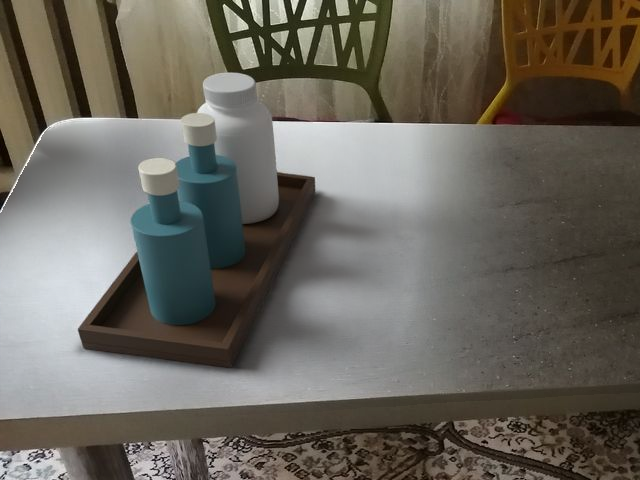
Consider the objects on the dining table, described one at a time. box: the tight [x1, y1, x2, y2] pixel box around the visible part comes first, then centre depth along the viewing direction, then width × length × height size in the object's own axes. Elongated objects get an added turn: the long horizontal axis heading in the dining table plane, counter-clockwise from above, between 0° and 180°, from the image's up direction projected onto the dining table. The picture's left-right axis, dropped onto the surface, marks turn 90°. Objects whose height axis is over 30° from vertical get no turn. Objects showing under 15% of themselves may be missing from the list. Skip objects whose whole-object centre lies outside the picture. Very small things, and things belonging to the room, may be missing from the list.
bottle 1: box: [130, 157, 216, 325], centre depth 68 cm, size 6×6×15 cm
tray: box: [77, 171, 316, 369], centre depth 79 cm, size 33×14×2 cm, turn 175°
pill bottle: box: [196, 72, 279, 224], centre depth 82 cm, size 8×8×15 cm
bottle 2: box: [175, 112, 245, 269], centre depth 75 cm, size 6×6×15 cm
